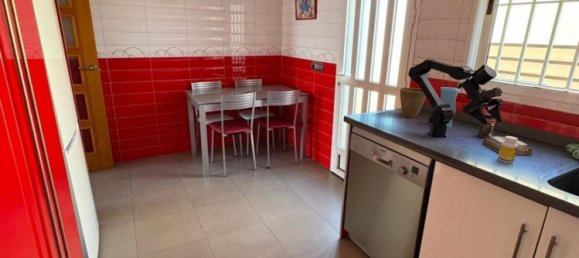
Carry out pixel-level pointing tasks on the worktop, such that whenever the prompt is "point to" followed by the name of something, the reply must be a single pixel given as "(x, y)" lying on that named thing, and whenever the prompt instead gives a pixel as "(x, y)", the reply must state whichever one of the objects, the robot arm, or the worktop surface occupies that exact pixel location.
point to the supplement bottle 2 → (508, 149)
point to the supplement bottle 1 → (487, 127)
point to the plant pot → (411, 101)
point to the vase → (449, 99)
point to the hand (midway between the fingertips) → (493, 123)
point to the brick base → (496, 148)
